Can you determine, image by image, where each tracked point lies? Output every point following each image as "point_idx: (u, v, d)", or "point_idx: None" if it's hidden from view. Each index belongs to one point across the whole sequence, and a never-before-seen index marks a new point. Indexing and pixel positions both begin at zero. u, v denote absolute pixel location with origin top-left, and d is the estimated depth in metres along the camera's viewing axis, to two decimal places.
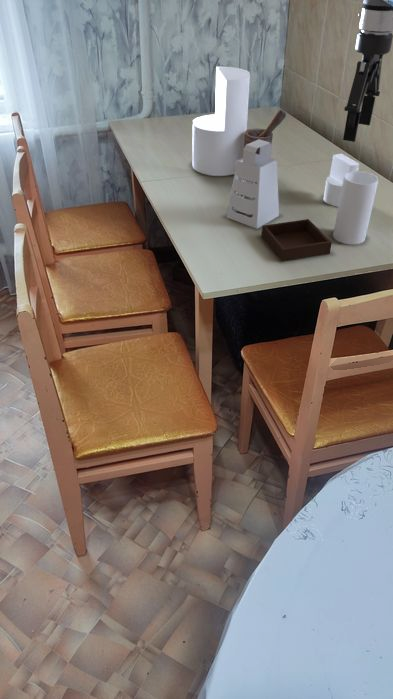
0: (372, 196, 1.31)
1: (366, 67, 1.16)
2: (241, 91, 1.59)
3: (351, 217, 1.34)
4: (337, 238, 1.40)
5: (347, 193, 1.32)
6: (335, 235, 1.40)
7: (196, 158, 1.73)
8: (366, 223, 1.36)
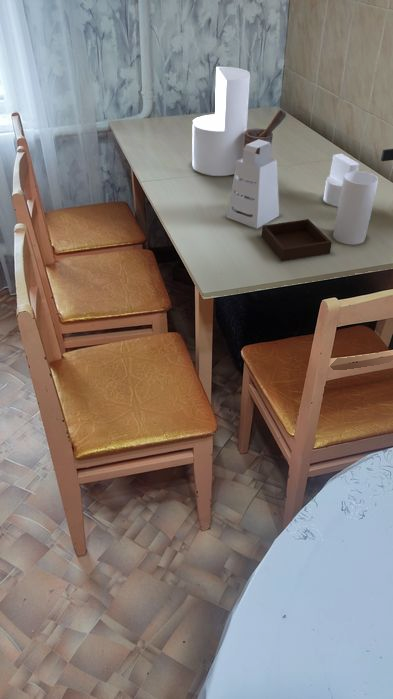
0: (372, 196, 1.31)
1: None
2: (241, 91, 1.59)
3: (351, 217, 1.34)
4: (337, 238, 1.40)
5: (347, 193, 1.32)
6: (335, 235, 1.40)
7: (196, 158, 1.73)
8: (366, 223, 1.36)
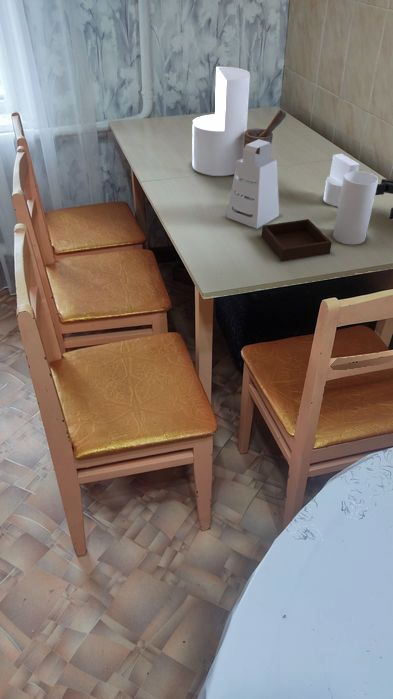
0: (372, 196, 1.31)
1: None
2: (241, 91, 1.59)
3: (351, 217, 1.34)
4: (337, 238, 1.40)
5: (347, 193, 1.32)
6: (335, 235, 1.40)
7: (196, 158, 1.73)
8: (366, 223, 1.36)
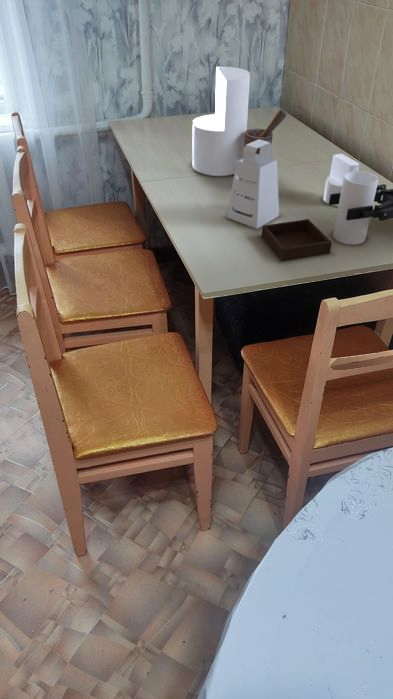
0: (372, 196, 1.31)
1: None
2: (241, 91, 1.59)
3: None
4: (337, 238, 1.40)
5: (347, 193, 1.32)
6: (335, 235, 1.40)
7: (196, 158, 1.73)
8: (366, 223, 1.36)
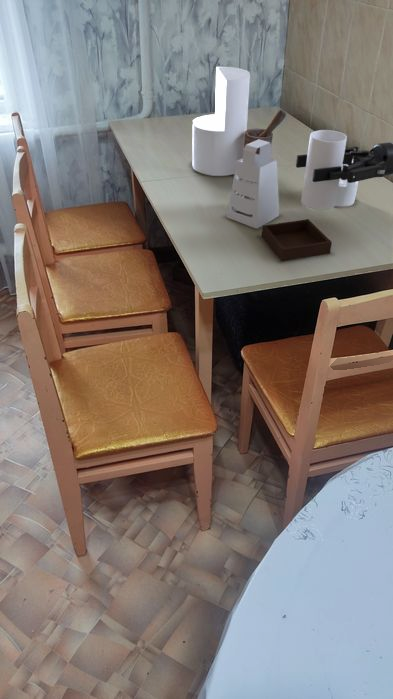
0: (340, 156, 1.22)
1: None
2: (241, 91, 1.59)
3: None
4: (305, 203, 1.31)
5: (313, 152, 1.22)
6: (303, 200, 1.31)
7: (196, 158, 1.73)
8: (335, 186, 1.27)
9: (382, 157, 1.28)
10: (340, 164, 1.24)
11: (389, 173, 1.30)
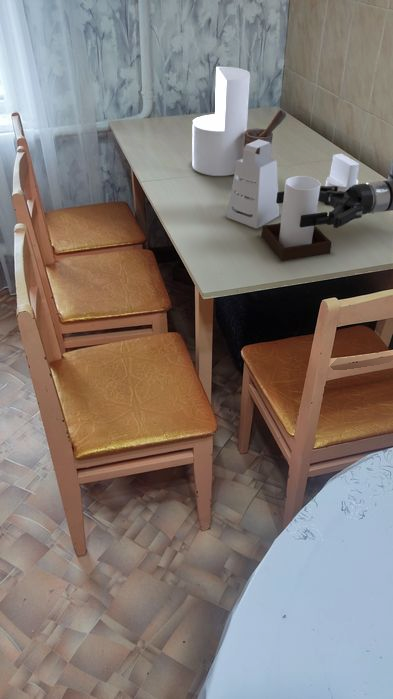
0: (314, 202, 1.28)
1: None
2: (241, 91, 1.59)
3: (294, 223, 1.30)
4: (282, 244, 1.36)
5: (289, 199, 1.28)
6: (280, 241, 1.37)
7: (196, 158, 1.73)
8: (310, 229, 1.32)
9: (357, 198, 1.33)
10: (314, 209, 1.29)
11: (364, 213, 1.35)
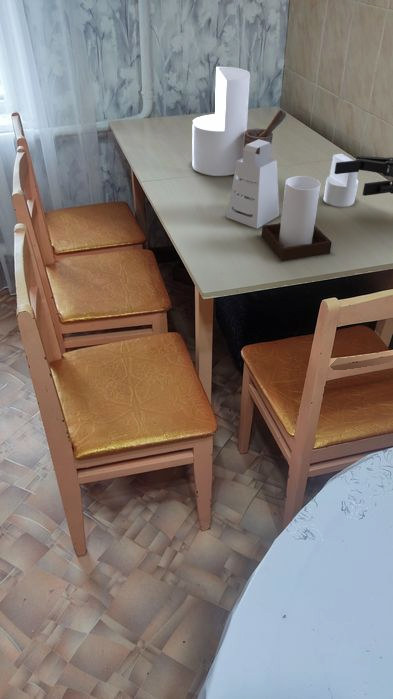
0: (314, 202, 1.28)
1: None
2: (241, 91, 1.59)
3: (294, 223, 1.30)
4: (282, 244, 1.36)
5: (289, 199, 1.28)
6: (280, 241, 1.37)
7: (196, 158, 1.73)
8: (310, 229, 1.32)
9: None
10: (314, 209, 1.29)
11: None
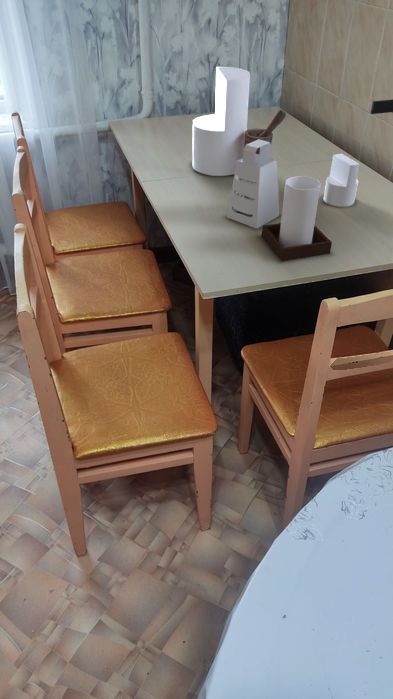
0: (314, 202, 1.28)
1: None
2: (241, 91, 1.59)
3: (294, 223, 1.30)
4: None
5: (289, 199, 1.28)
6: (280, 241, 1.37)
7: (196, 158, 1.73)
8: (310, 229, 1.32)
9: None
10: (314, 209, 1.29)
11: None
